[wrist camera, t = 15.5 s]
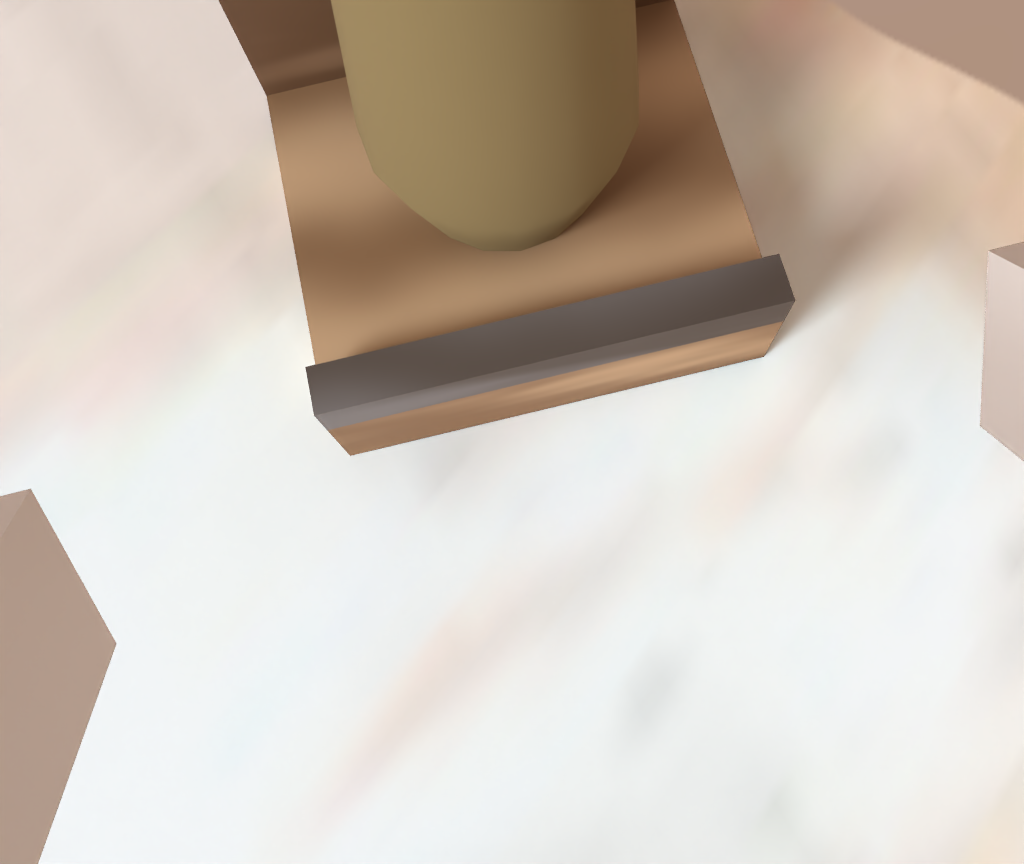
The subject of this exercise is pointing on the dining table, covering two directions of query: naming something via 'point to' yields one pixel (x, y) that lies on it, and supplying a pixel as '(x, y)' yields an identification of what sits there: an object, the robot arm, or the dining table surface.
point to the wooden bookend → (507, 256)
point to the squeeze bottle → (493, 108)
